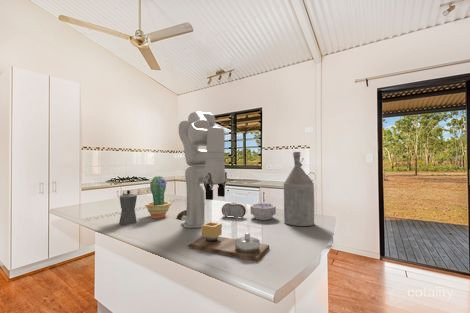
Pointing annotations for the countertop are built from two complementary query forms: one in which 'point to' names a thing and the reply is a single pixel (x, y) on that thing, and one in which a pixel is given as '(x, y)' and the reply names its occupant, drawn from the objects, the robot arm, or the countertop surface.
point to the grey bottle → (298, 196)
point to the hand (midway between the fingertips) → (215, 197)
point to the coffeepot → (128, 209)
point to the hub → (247, 244)
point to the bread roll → (182, 214)
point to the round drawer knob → (211, 239)
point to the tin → (233, 210)
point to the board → (227, 248)
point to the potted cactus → (158, 198)
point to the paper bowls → (263, 211)
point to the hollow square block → (211, 230)
